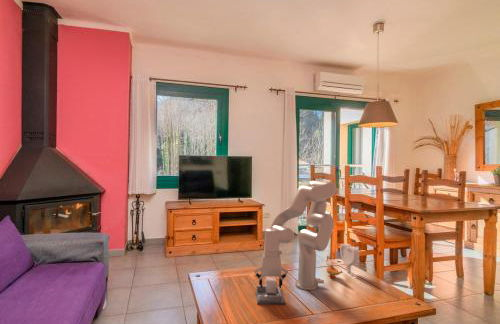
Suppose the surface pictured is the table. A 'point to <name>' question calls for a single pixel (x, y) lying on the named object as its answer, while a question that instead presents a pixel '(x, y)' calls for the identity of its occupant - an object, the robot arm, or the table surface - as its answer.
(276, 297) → the grey square tray
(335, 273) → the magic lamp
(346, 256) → the heart sculpture
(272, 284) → the block
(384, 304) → the table surface
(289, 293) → the table surface
